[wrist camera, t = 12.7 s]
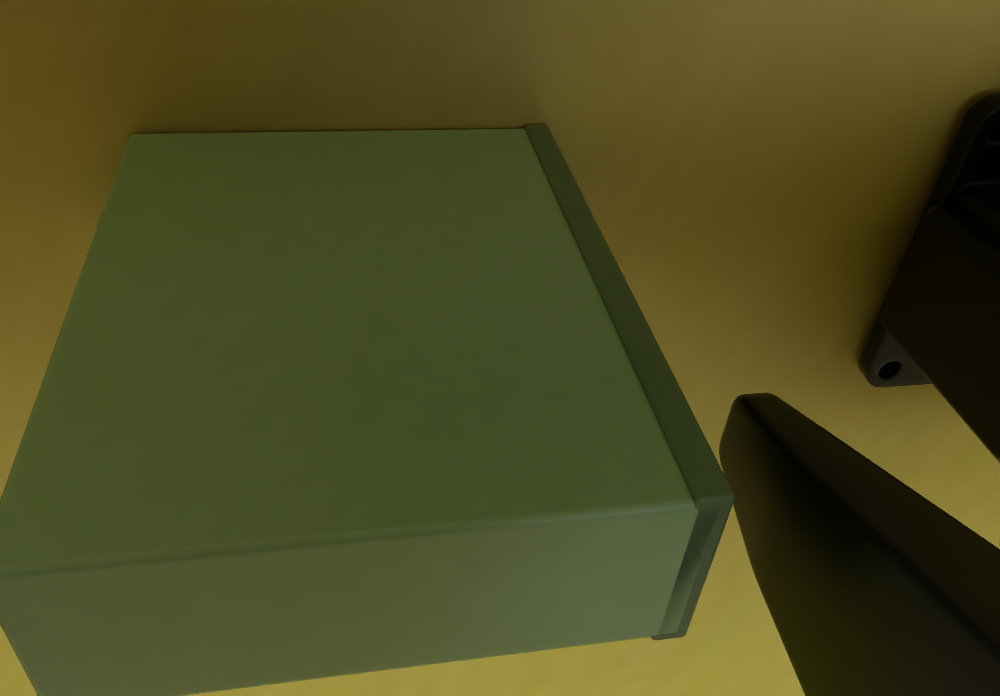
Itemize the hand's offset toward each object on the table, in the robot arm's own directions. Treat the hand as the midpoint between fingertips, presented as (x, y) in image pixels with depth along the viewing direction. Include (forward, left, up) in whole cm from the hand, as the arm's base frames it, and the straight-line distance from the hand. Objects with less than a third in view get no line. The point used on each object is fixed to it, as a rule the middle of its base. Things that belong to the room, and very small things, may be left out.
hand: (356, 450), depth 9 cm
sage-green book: (0, 0, -6) cm, 6 cm away
